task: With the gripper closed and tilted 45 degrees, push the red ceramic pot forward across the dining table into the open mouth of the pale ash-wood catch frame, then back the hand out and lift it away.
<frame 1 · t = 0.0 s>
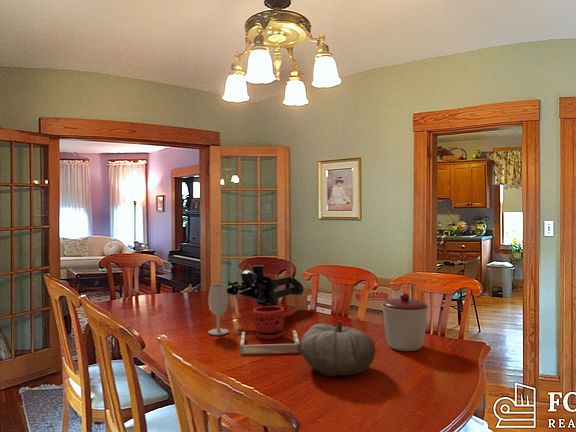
hand: (231, 292, 200), 17 cm above the table, fingers open, 9 cm apart
wineglass: (218, 333, 193), on the table
catch frame: (269, 344, 175), on the table
plant pot: (268, 336, 187), on the table
canister: (405, 348, 171), on the table
gourd: (335, 370, 148), on the table
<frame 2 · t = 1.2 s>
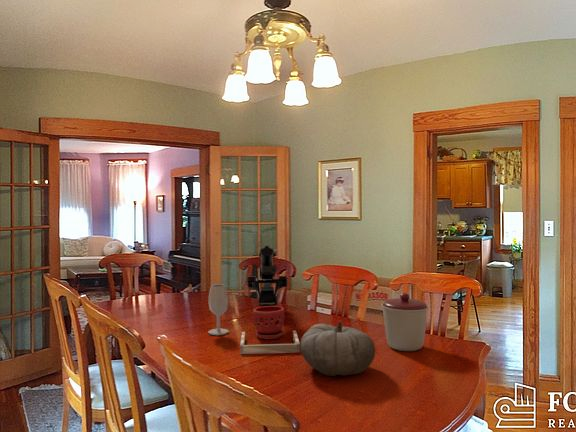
hand: (267, 296, 204), 14 cm above the table, fingers open, 7 cm apart
nothing on the table moved.
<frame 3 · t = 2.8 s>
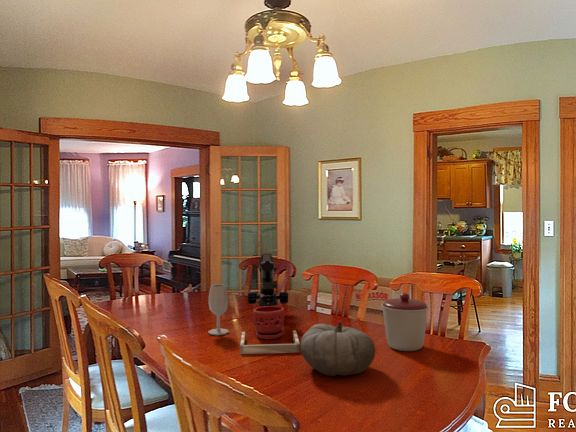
hand: (268, 313, 198), 7 cm above the table, fingers closed
nothing on the table moved.
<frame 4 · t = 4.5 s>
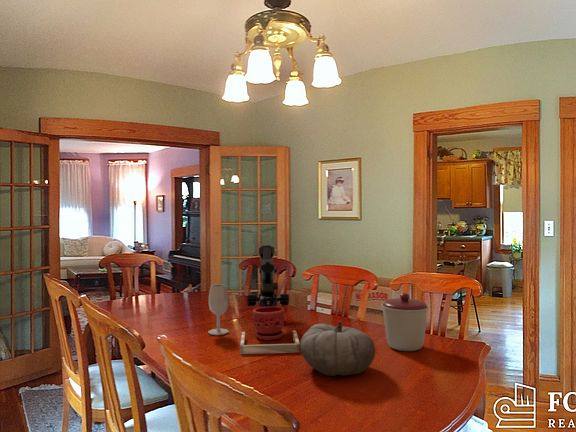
hand: (268, 316, 193), 7 cm above the table, fingers closed
plant pot: (268, 337, 186), on the table, touching gripper
everything else where it was.
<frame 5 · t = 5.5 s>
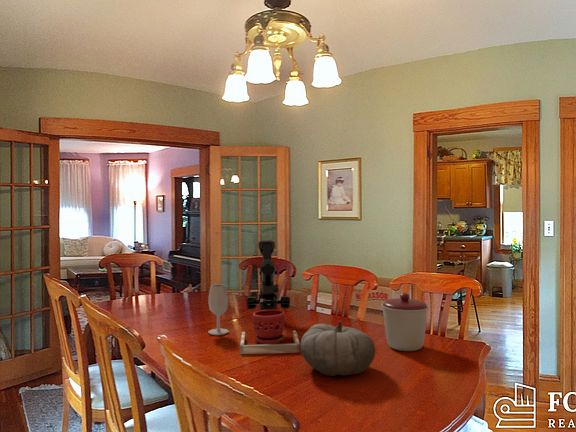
hand: (268, 319, 187), 7 cm above the table, fingers closed
plant pot: (269, 341, 180), on the table, touching gripper
everything else where it was.
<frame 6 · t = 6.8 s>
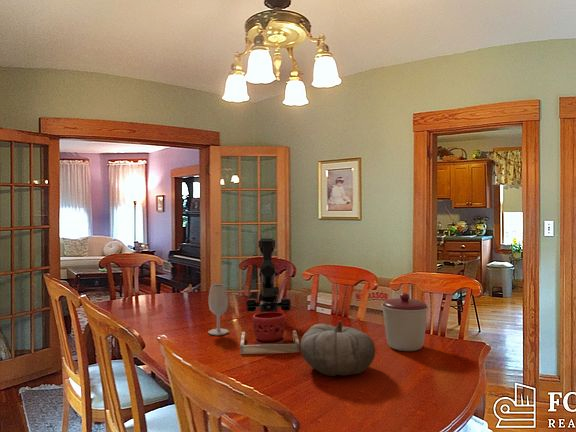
hand: (268, 322, 183), 7 cm above the table, fingers closed
plant pot: (269, 344, 177), on the table, touching gripper
everything else where it was.
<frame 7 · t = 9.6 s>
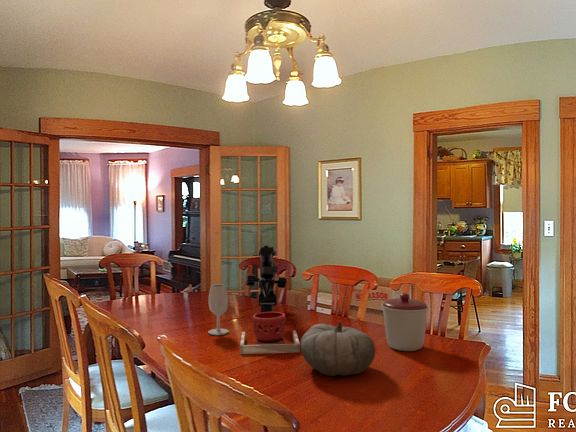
hand: (266, 297, 204), 13 cm above the table, fingers closed
plant pot: (269, 344, 177), on the table
everything else where it was.
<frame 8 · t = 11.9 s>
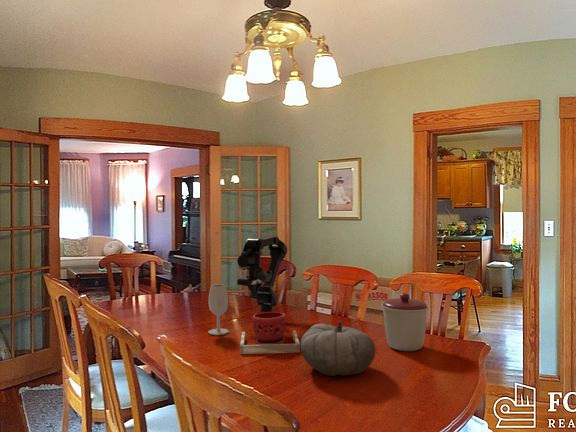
hand: (254, 297, 209), 12 cm above the table, fingers closed
nothing on the table moved.
at the end: plant pot 1.2 cm from the catch frame (horizontally); plant pot tilted 0°; the gripper is holding nothing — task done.
